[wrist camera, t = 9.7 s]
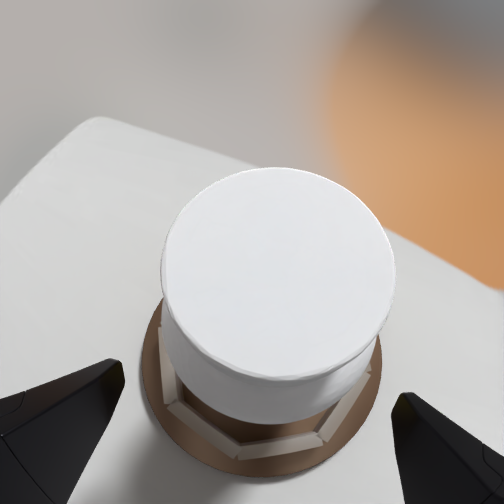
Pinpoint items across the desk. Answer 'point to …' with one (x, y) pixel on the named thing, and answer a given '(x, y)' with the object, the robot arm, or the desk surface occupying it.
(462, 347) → the desk surface
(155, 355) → the collar plate
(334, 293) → the supplement bottle
